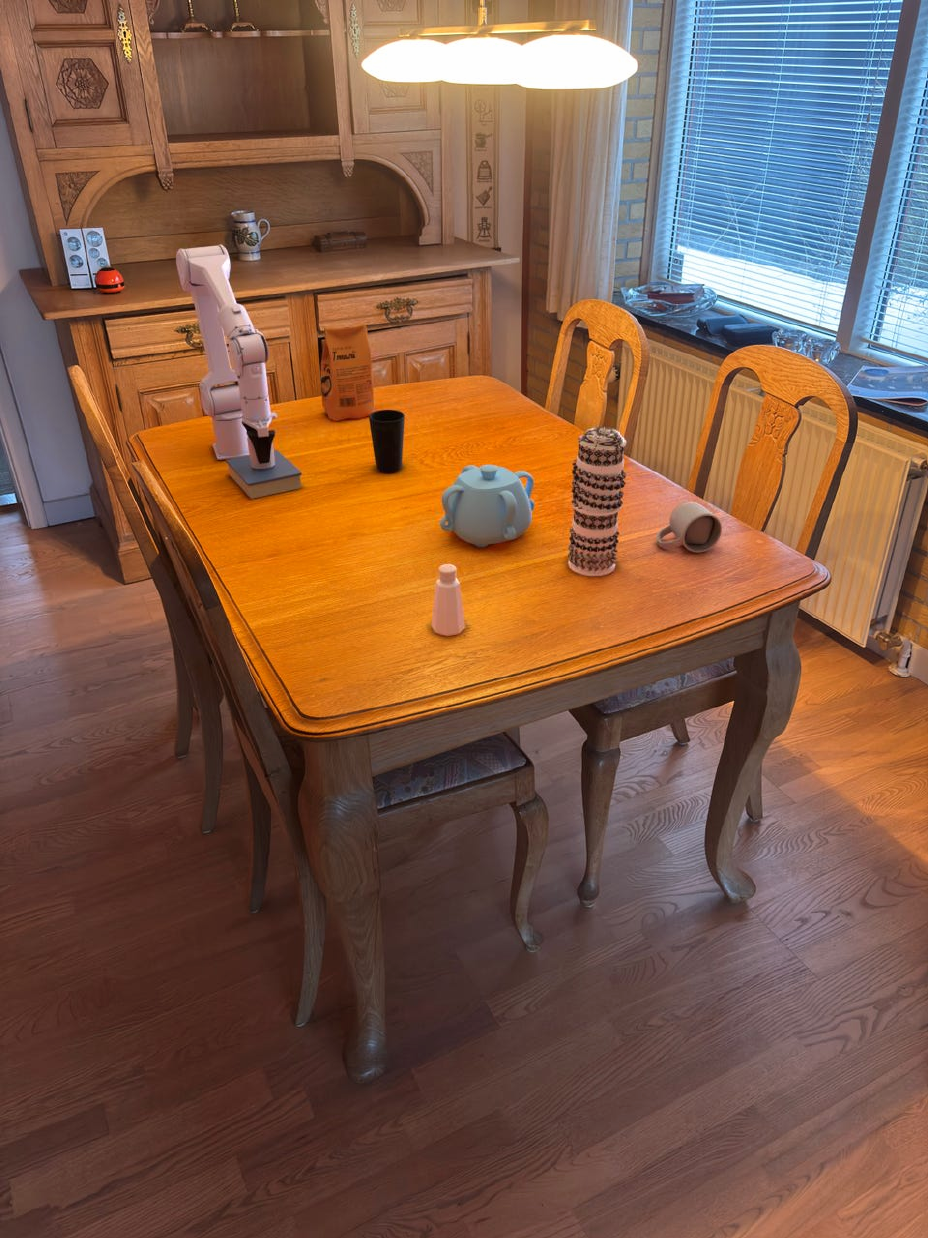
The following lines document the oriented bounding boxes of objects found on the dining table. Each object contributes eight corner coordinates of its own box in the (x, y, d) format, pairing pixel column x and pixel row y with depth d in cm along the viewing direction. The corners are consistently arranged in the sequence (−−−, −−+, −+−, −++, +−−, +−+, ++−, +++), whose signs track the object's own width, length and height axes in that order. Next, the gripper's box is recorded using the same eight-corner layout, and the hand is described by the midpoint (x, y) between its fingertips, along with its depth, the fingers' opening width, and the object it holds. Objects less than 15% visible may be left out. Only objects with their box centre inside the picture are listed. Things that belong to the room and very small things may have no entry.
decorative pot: (510, 560, 168) (513, 491, 161) (431, 543, 174) (430, 475, 167) (542, 524, 181) (545, 458, 174) (467, 509, 187) (467, 445, 179)
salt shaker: (450, 614, 153) (449, 555, 147) (472, 628, 149) (472, 568, 143) (424, 626, 150) (422, 566, 144) (446, 640, 146) (445, 579, 140)
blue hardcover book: (227, 475, 201) (225, 459, 199) (278, 464, 206) (277, 449, 204) (250, 499, 191) (247, 483, 189) (303, 488, 195) (301, 472, 194)
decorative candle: (555, 562, 168) (562, 430, 154) (592, 548, 172) (602, 418, 159) (590, 582, 162) (601, 446, 148) (627, 567, 166) (642, 433, 153)
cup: (409, 462, 207) (407, 410, 201) (403, 475, 201) (401, 422, 195) (375, 460, 208) (372, 408, 202) (368, 474, 202) (365, 421, 195)
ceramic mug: (700, 531, 178) (705, 494, 174) (719, 550, 171) (725, 512, 167) (648, 537, 176) (652, 500, 172) (666, 557, 169) (670, 519, 165)
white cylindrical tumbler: (249, 461, 198) (245, 434, 194) (272, 458, 199) (269, 432, 196) (252, 470, 194) (249, 443, 190) (276, 467, 195) (273, 440, 192)
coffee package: (319, 410, 236) (312, 322, 224) (366, 404, 240) (361, 317, 228) (330, 423, 228) (323, 333, 216) (378, 416, 232) (374, 327, 221)
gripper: (280, 403, 184) (287, 468, 191) (267, 382, 195) (274, 443, 202) (244, 408, 182) (252, 472, 189) (233, 385, 193) (242, 447, 200)
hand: (262, 457), depth 196 cm, fingers closed on white cylindrical tumbler, 5 cm apart
